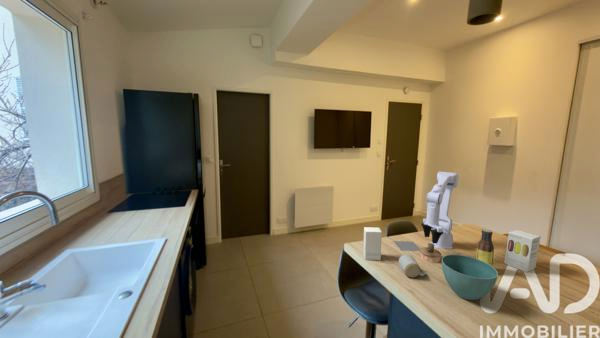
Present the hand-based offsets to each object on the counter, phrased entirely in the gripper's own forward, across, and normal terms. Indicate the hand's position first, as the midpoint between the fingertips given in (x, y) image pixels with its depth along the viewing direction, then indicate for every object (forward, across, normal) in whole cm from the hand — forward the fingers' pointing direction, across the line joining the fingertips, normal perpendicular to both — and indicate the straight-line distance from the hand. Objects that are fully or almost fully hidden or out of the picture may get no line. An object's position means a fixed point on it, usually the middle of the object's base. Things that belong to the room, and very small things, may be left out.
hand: (430, 239), depth 123 cm
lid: (+7, +1, 0) cm, 7 cm away
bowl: (+10, +1, 0) cm, 10 cm away
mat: (+10, -13, -6) cm, 17 cm away
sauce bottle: (+10, +12, +20) cm, 25 cm away
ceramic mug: (+10, +15, -16) cm, 25 cm away
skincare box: (+10, +1, -31) cm, 33 cm away
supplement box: (+10, +7, +42) cm, 44 cm away
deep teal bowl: (+10, +29, -1) cm, 31 cm away
